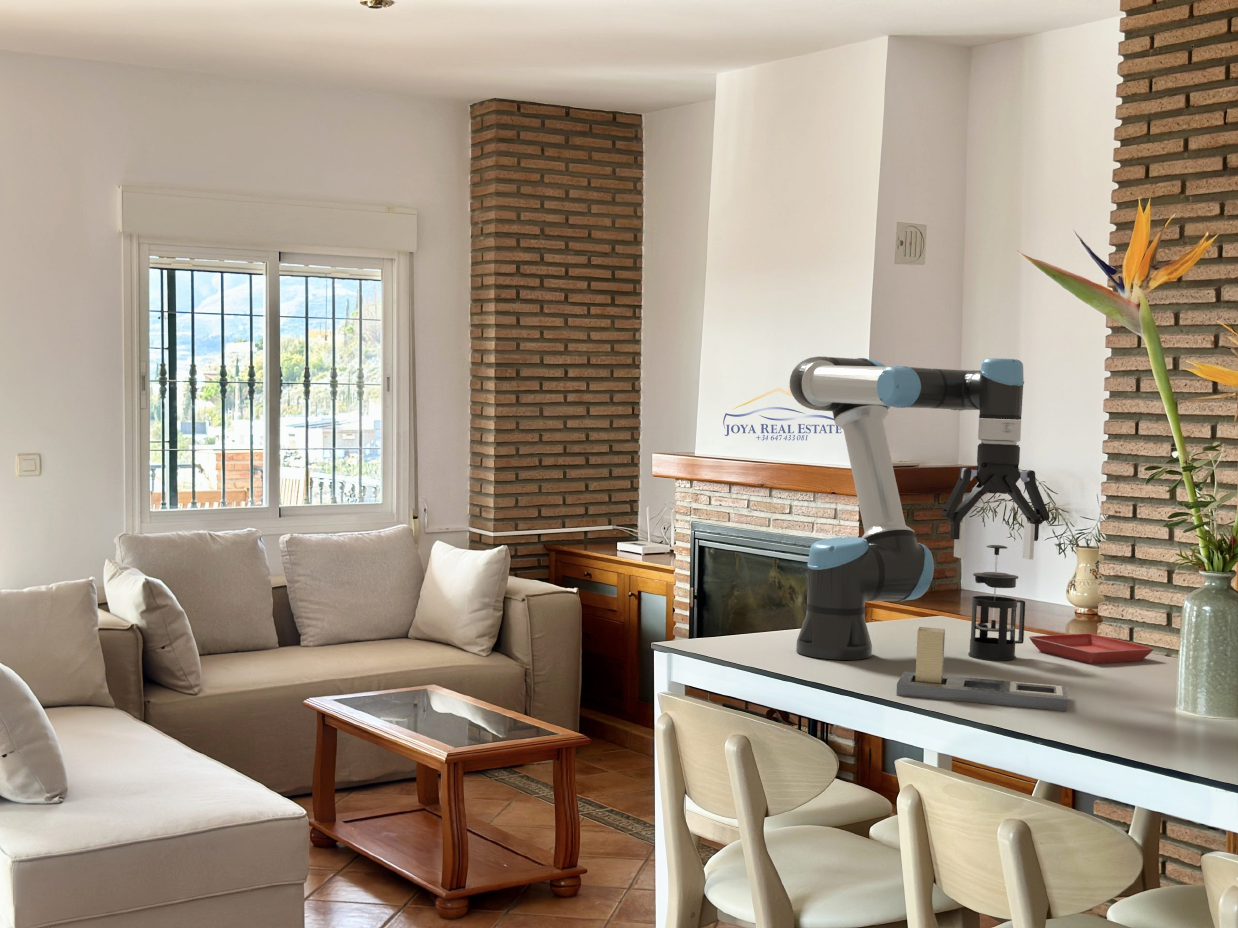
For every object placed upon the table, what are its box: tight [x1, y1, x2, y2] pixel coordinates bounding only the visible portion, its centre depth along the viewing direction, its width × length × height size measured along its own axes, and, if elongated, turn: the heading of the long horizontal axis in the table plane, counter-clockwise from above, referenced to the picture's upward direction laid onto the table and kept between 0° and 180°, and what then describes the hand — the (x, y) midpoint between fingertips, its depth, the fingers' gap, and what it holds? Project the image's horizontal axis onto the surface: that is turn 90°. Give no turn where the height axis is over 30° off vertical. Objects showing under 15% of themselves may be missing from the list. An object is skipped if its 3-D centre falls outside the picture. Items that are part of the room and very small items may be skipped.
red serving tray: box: [1028, 633, 1155, 665], centre depth 278 cm, size 18×18×3 cm
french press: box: [968, 544, 1026, 662], centre depth 272 cm, size 12×9×23 cm
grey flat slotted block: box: [896, 671, 1068, 712], centre depth 231 cm, size 28×12×2 cm, turn 73°
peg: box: [915, 626, 946, 685], centre depth 234 cm, size 4×4×11 cm
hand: (993, 558), depth 245 cm, fingers open, 13 cm apart
